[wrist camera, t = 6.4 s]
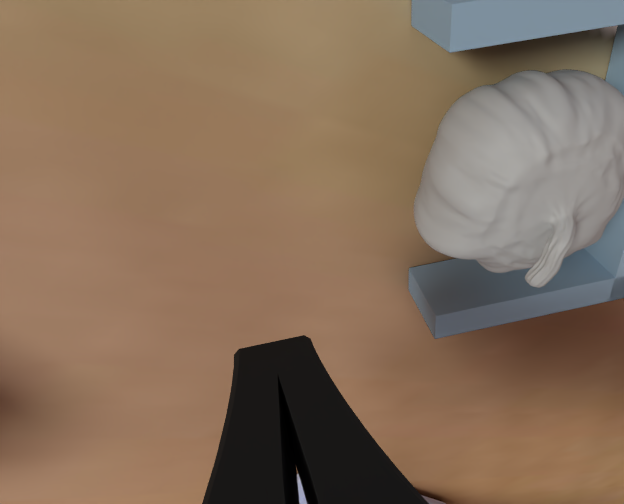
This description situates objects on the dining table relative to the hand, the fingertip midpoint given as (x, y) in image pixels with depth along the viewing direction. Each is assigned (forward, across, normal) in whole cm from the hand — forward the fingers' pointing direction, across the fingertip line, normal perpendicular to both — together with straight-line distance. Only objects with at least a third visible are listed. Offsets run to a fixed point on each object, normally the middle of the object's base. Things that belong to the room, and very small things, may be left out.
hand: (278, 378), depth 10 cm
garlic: (+7, -7, 0) cm, 10 cm away
